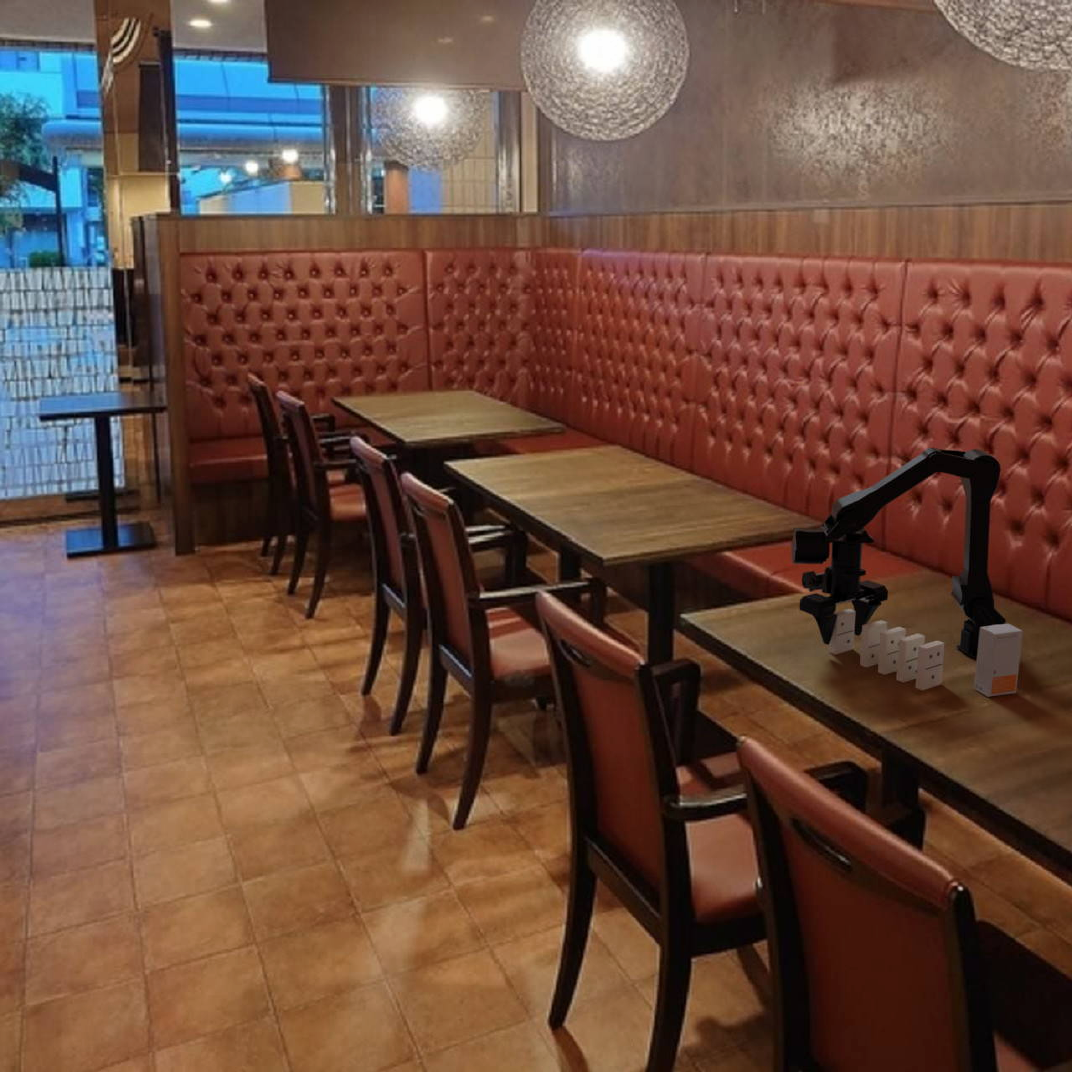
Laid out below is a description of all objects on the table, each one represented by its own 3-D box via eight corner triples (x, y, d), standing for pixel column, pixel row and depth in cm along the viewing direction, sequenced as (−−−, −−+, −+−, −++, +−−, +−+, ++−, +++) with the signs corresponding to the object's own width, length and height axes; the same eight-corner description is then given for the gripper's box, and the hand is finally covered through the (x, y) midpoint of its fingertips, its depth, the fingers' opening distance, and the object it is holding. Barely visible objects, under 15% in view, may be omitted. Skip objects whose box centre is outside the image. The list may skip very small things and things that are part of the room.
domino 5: (915, 687, 205) (918, 646, 203) (934, 681, 207) (937, 640, 205) (923, 690, 203) (926, 648, 201) (941, 684, 206) (944, 643, 204)
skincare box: (988, 698, 200) (994, 634, 196) (973, 688, 204) (978, 626, 200) (1017, 693, 201) (1024, 630, 198) (1002, 684, 205) (1008, 622, 202)
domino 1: (829, 652, 222) (831, 613, 220) (847, 646, 225) (849, 608, 223) (835, 654, 221) (837, 616, 219) (853, 649, 223) (855, 611, 221)
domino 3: (877, 672, 212) (880, 632, 210) (896, 666, 215) (899, 626, 212) (884, 674, 211) (887, 634, 209) (903, 669, 213) (906, 629, 211)
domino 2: (860, 664, 216) (862, 625, 214) (878, 659, 218) (880, 620, 216) (866, 667, 214) (869, 627, 212) (885, 661, 217) (887, 622, 215)
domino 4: (896, 679, 208) (899, 639, 206) (914, 673, 211) (917, 633, 209) (903, 682, 207) (906, 641, 205) (922, 676, 210) (925, 636, 207)
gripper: (848, 546, 229) (844, 618, 234) (780, 562, 220) (777, 637, 224) (892, 559, 220) (887, 634, 224) (822, 576, 211) (818, 654, 215)
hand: (841, 639), depth 222 cm, fingers open, 8 cm apart
